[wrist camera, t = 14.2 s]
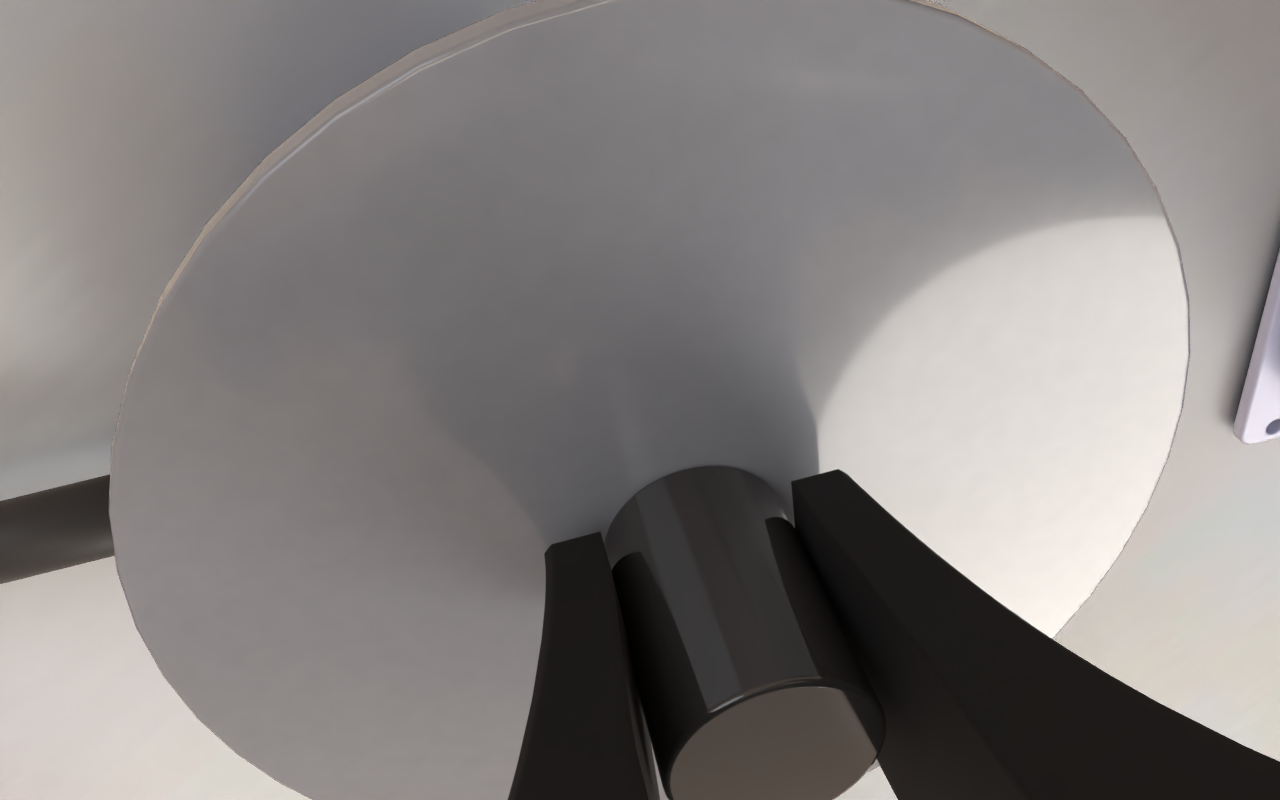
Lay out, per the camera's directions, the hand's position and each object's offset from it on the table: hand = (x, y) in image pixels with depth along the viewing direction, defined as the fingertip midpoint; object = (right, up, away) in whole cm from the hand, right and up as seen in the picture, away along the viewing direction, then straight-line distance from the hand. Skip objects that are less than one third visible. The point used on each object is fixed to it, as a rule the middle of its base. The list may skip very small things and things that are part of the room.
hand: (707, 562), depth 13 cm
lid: (0, +1, +1) cm, 1 cm away
